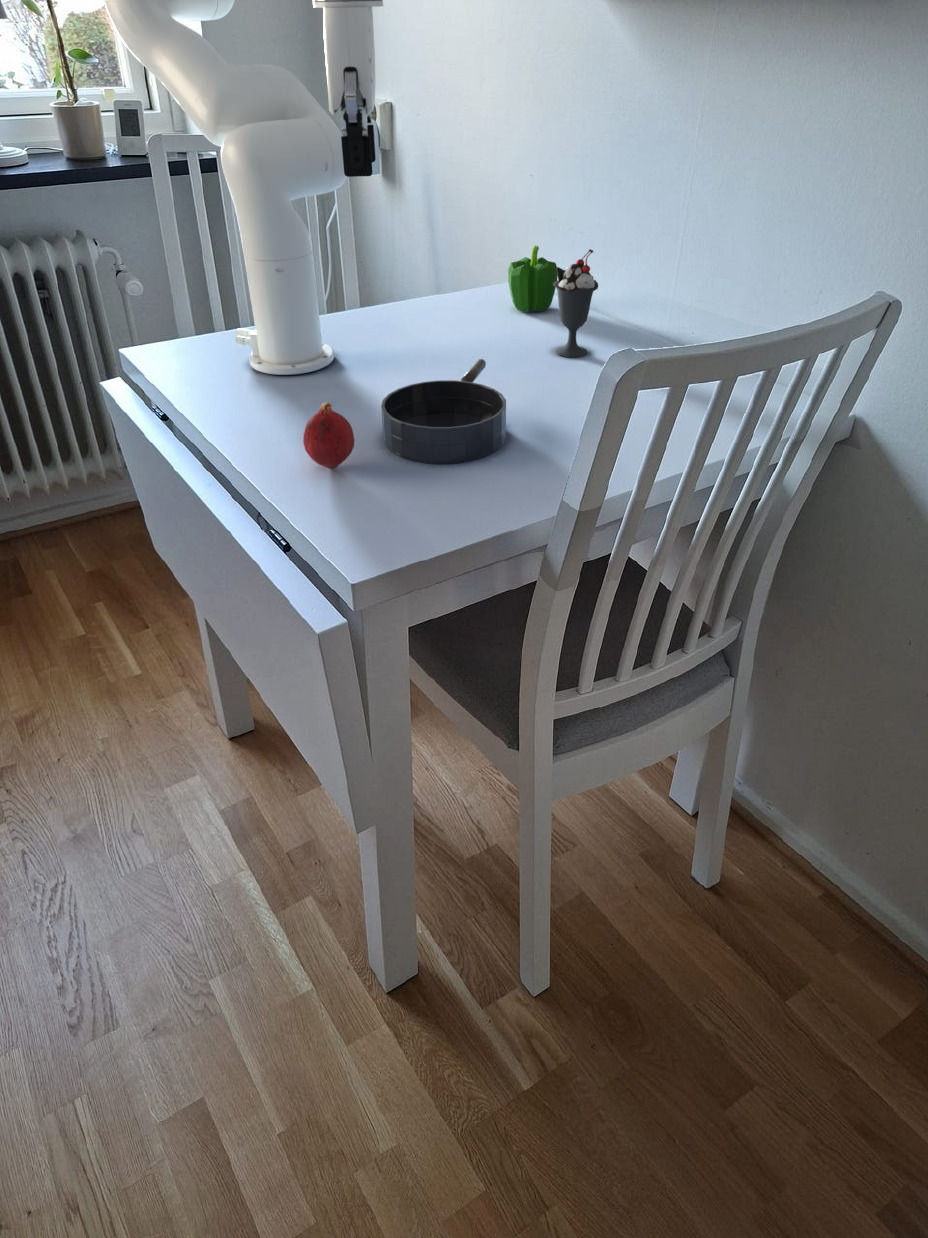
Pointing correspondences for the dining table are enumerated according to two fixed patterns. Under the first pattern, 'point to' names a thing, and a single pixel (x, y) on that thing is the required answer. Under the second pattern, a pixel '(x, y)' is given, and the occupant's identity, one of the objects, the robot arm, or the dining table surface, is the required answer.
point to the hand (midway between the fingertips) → (360, 168)
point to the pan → (444, 421)
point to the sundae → (574, 302)
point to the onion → (328, 437)
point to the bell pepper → (532, 282)
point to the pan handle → (474, 371)
